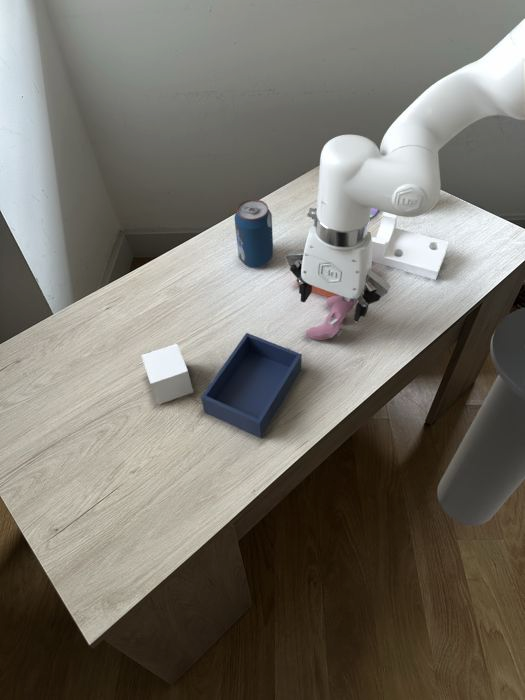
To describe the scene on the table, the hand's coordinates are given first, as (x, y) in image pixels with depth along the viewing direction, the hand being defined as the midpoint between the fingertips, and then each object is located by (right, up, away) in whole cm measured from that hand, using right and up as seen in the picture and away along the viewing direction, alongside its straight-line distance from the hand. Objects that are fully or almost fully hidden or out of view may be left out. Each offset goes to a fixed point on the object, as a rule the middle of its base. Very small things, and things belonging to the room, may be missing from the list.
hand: (332, 306), depth 88 cm
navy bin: (-13, -14, -3) cm, 20 cm away
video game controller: (+1, -3, +5) cm, 6 cm away
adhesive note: (-27, -13, -2) cm, 30 cm away
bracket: (+16, +10, +14) cm, 24 cm away
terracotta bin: (+1, +6, +12) cm, 13 cm away
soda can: (-13, +11, +16) cm, 24 cm away
